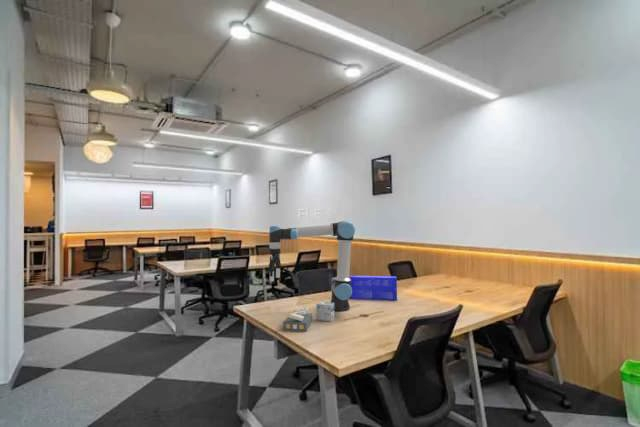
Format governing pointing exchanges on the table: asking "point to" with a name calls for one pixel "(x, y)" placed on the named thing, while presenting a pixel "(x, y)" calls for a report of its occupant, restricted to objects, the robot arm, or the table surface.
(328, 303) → the light bulb box
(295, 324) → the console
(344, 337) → the table surface
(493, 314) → the table surface
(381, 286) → the toner cartridge box
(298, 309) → the rocker far
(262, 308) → the table surface
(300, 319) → the rocker near
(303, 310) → the rocker mid
